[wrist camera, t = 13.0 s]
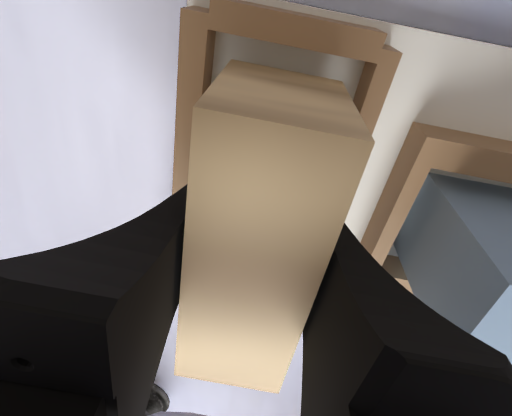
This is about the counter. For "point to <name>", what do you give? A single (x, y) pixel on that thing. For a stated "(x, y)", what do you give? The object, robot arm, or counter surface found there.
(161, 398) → the salt shaker
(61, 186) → the counter surface
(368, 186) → the jig
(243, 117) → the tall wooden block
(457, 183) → the light blue block
